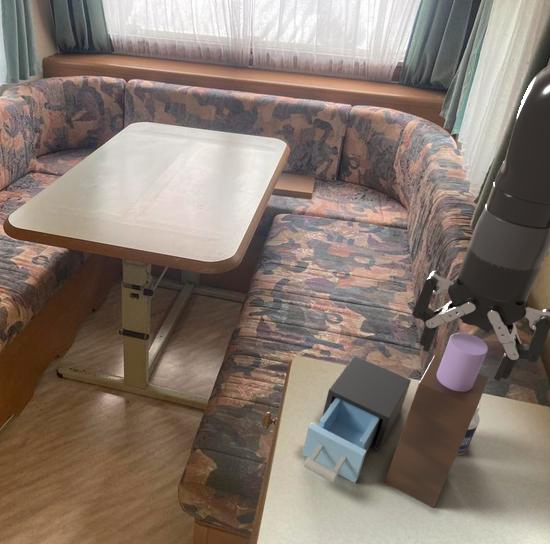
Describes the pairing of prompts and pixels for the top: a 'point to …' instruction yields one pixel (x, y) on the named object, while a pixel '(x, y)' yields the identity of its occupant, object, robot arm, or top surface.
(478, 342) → the purple cylinder
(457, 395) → the stand
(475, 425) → the pill bottle
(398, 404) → the cabinet
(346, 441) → the drawer
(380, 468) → the top surface
